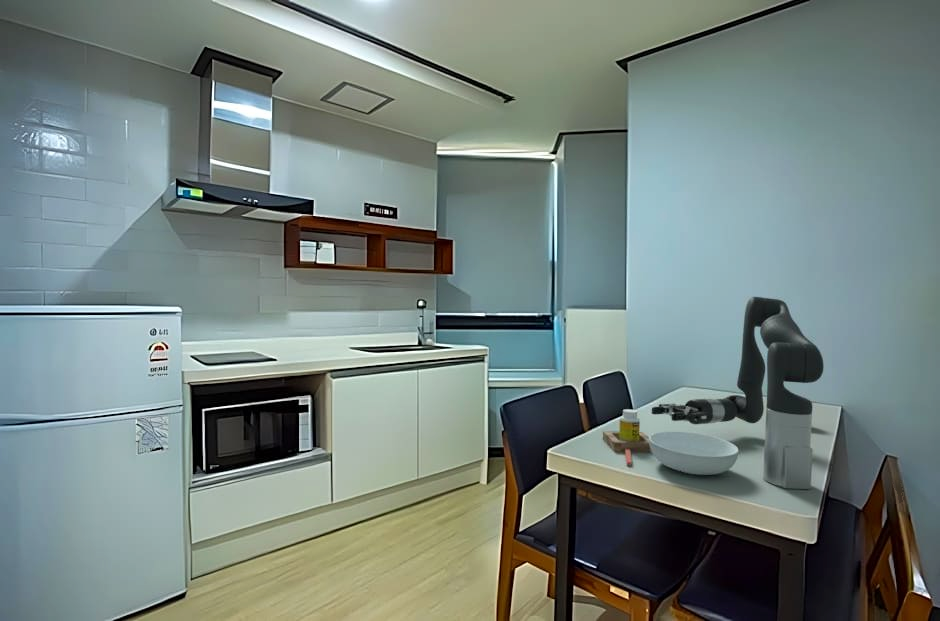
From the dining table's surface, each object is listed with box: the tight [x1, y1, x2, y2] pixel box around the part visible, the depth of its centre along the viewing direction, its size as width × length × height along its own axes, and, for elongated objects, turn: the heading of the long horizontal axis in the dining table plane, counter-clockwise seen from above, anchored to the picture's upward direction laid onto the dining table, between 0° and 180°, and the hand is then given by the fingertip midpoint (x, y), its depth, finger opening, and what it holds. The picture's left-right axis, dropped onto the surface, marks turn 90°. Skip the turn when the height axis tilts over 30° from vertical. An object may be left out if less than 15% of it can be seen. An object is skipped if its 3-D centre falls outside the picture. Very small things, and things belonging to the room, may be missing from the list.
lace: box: [624, 449, 633, 467], centre depth 136 cm, size 12×1×1 cm, turn 165°
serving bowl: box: [648, 430, 740, 476], centre depth 130 cm, size 21×21×7 cm
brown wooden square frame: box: [602, 430, 652, 453], centre depth 149 cm, size 12×12×2 cm
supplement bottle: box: [619, 408, 641, 441], centre depth 149 cm, size 6×6×10 cm
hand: (662, 413), depth 152 cm, fingers open, 8 cm apart
